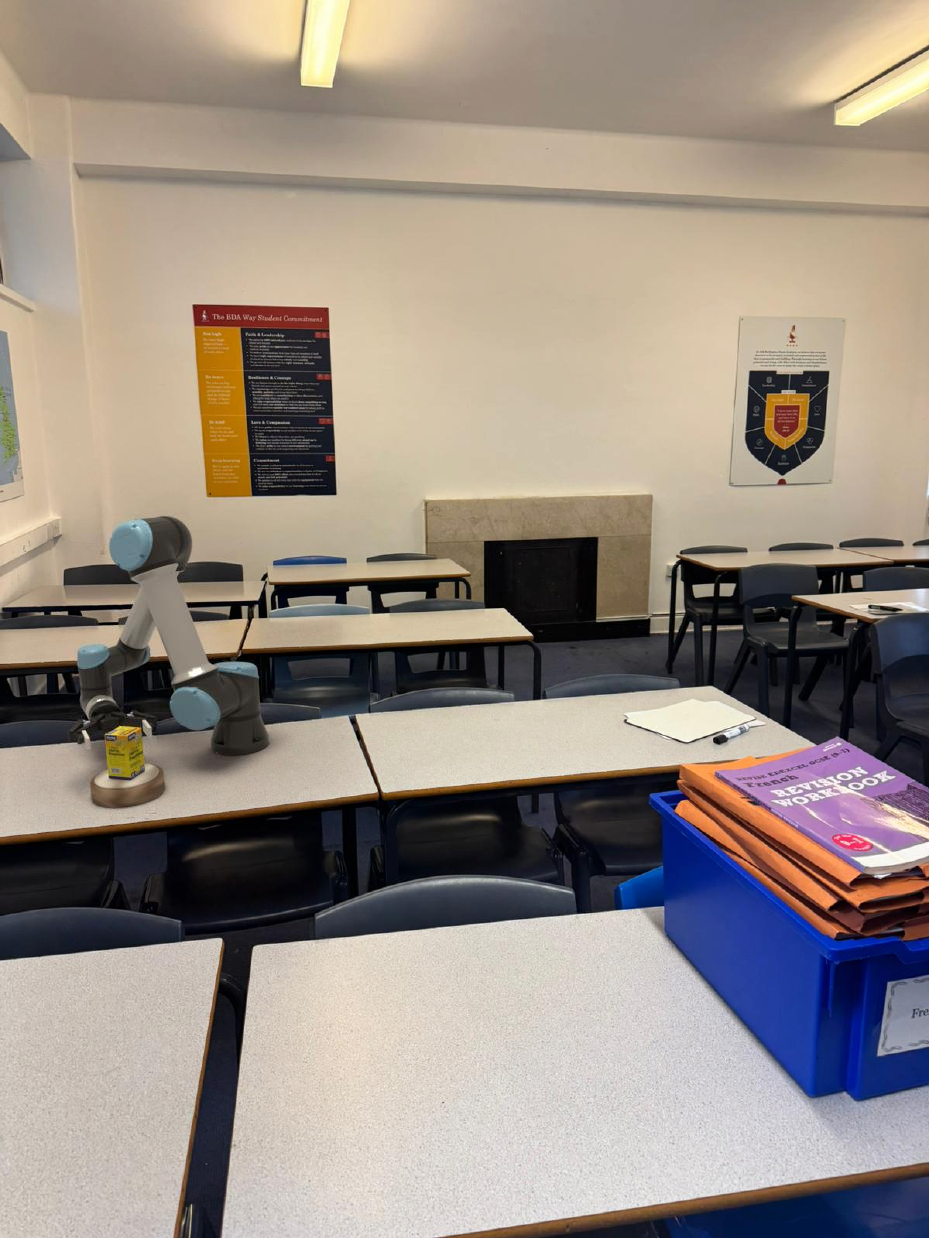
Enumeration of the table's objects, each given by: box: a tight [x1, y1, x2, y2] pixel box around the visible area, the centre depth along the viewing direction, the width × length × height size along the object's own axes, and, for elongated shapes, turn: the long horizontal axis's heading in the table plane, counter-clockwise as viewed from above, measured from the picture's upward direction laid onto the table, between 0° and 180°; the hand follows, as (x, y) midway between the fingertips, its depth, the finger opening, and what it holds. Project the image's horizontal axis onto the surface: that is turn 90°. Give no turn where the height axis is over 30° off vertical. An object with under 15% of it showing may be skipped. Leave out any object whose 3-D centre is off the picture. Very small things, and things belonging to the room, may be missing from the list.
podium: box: [89, 763, 166, 809], centre depth 190 cm, size 16×16×4 cm
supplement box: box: [104, 726, 146, 780], centre depth 189 cm, size 6×6×11 cm
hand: (119, 738), depth 190 cm, fingers open, 13 cm apart
